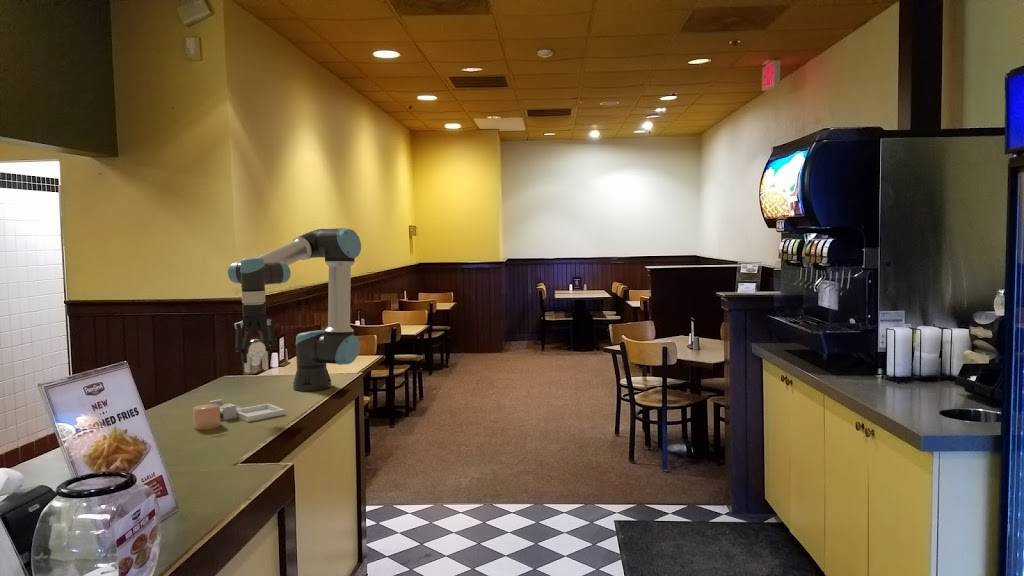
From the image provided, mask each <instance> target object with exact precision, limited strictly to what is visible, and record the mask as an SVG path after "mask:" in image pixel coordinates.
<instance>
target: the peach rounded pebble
mask: <svg viewBox="0 0 1024 576" xmlns="http://www.w3.org/2000/svg"><path fill="white" fill-rule="evenodd" d="M192 415H193V416H192V417H193V419H192V422H193V429H194V430H196V431H197V430H198V431H203V430H204V431H207V430H212V429H217V428H219V427H221V425H222V424H221V422H222V421H221V422H220V405H217V404H209V403H208V404H201V405H196V406H194V407H193V408H192Z"/></svg>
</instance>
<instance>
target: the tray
mask: <svg viewBox="0 0 1024 576" xmlns="http://www.w3.org/2000/svg"><path fill="white" fill-rule="evenodd" d="M285 415H286V409H285V408H282V407H279V406H276V405H274V404H271V403H262V404H258V405H253V406H248V407H247V406H246V407H241V411H237V417H239V418H238V419H239V420H242V421H245V422H246V423H250V422H255V421H262V420H266V419H271V418H277V417H281V416H285Z"/></svg>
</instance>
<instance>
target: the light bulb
mask: <svg viewBox="0 0 1024 576" xmlns="http://www.w3.org/2000/svg"><path fill="white" fill-rule="evenodd" d="M265 353H266V345H265V343H264V342H263V341H261V339H260V338H259V339H258V338H254V339H250V342H249V346H248V350H247V354H249V356H250V373H249V374H252V375H254V374H256V373H257V372H259V367H260V364H261V361H262V360H263V359H262V358H263V357H264V355H265Z"/></svg>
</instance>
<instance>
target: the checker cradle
mask: <svg viewBox="0 0 1024 576" xmlns="http://www.w3.org/2000/svg"><path fill="white" fill-rule="evenodd" d="M208 404H217V405H223V399H222V398H221V399H214V400H209V402H208ZM236 406H237V405H236V404H234V405H231V406H226V407H223V414H220V422H226V421H230V420H236V419H239V417H237V411H236Z"/></svg>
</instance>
